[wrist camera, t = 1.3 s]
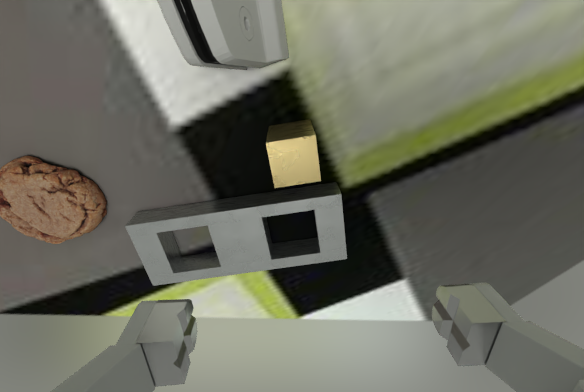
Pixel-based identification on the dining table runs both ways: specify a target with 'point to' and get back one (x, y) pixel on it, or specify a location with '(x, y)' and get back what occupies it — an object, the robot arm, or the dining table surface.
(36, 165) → the cookie
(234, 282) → the dining table surface
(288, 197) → the grey shape sorter tray
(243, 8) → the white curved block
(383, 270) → the dining table surface
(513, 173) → the dining table surface
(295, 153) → the wood grain block
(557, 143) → the dining table surface
